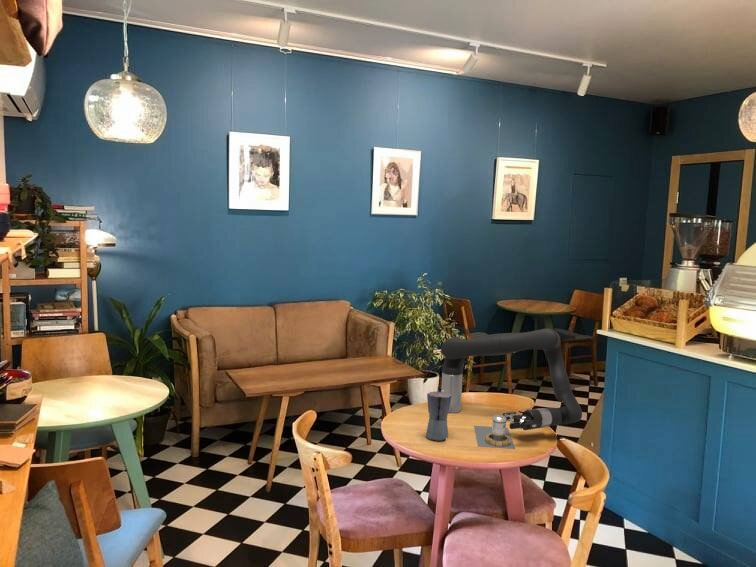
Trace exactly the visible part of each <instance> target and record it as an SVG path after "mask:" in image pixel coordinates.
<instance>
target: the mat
mask: <svg viewBox="0 0 756 567" xmlns="http://www.w3.org/2000/svg"><path fill="white" fill-rule="evenodd" d="M473 429H474V433H475V439H476V444H477V447H478V448H492V449H503V450H504V449H505V450H506V449H507V450H508V449H509V450H516V446H515V444H514V440H513V438H512V436H511V432H510V430H509V427H506V429H505V435H507V436H509V437H510V438H511V444H510V445H509V446H506V447H496V446H492V445H489V444H487V443H486V442H485V435H487V434H489V433H492V426H486V425H485V426H483V425H473Z"/></svg>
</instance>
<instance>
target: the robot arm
mask: <svg viewBox="0 0 756 567" xmlns="http://www.w3.org/2000/svg"><path fill="white" fill-rule="evenodd" d="M561 344H562V343H561V337H560V335H559V333H558V332H557V331H556V330H554V329H553V328H549V327H547V328H541V329H537V330H532V331H525V332H506V333H505V332H502V333H493V334H492V333H491V334H488V335H487V334H486V335H482V336H480V337H476V338H473V339H472V338H471V339H461V338H460V337H457V336H453V337H450V338H448V339H446V340H445V341H444V342H443V343H442V345H441V347H440V351H441V355H442V356H443V357H444V361H443V365H442V369H441V372H442V373H441V387H440V388H442V390H441V392H445V393H448V394H450V395H451V396H452V397H451V402H450V408H449V413H454V414H455V413H459V412H461V410H462V394H463V393H462V392H463V372H464V367H465V358H467V357H478V356H479V357H481V356H482V357H483V356H484V357H485V356H504V355H510V354H513V353H518V352H520V351H526V350H543V353H544V355H545V357H546V360H547V363H548V367H549V373H550V374H549V375H550V381H551V386H552V389H553V393H554V396H555V399H556V400H557V401H560V402H562V403H563V405H564V406H561V407H547V408H546V407H545V408H542V407H541V408H533V409H526V410H524V411H523V413H517V412H516V411H512V412H510V411H508V412H503V413H502V415H503V416H505V417H506V423H507V422H508V423H509V429H510V430H516V429H517V430H518V429H519V430H523V431H531V430H535V429H542V428H546V427H551V426H557V425H558V426H559V425H562V426H563V425H569V424H573V423H578V422H580V421H581V420H582V417H583V411H582V407H581V406H580V404H579V402H578V401H577V398H576V397H575V395H574V393H573V390H572V387H571V383H570V379H569V376H568V372H567V369H566V366H565V362H564V359H563V358H564V357H563V353H562V345H561Z"/></svg>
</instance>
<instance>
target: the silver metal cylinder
mask: <svg viewBox="0 0 756 567" xmlns="http://www.w3.org/2000/svg"><path fill="white" fill-rule="evenodd" d="M491 421H492V425H491V427H492V438H491V439H493V440H499V441H503V440H505V429H506V428H507V421H506V417H505V416H503V414H494V415H493V416H492V420H491Z"/></svg>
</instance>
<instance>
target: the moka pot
mask: <svg viewBox="0 0 756 567" xmlns="http://www.w3.org/2000/svg"><path fill="white" fill-rule="evenodd" d="M441 390H442V388H441V387H439V386H438V388H437V390H436V391H429V392H427V393H426V397H427V398H426V399H427V407H428V408H427V410H428V414H429V415H428V417H429V418H428V422H427V427H426V432H425V438H426V439H429V440H433V441H446V440H447V438H449V430H448V429H449V428H448V427H449V426H448V414H449V413H450V412H449V408H450V402H451V397H452V396H451V395H450V394H448V393H445V392H441Z"/></svg>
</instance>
